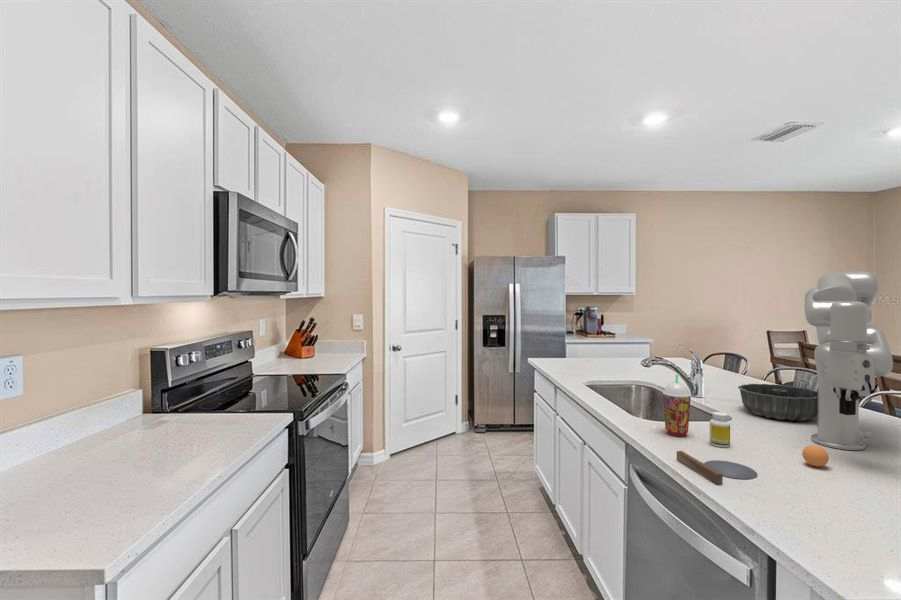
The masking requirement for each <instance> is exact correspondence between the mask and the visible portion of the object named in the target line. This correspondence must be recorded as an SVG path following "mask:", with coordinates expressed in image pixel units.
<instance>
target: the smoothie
mask: <svg viewBox="0 0 901 600" xmlns="http://www.w3.org/2000/svg"><path fill="white" fill-rule="evenodd" d="M662 398H663V399H662V400H663V413H664V414H663V415H664V425H665V426H664V429H665V431H666V433H667V434H668V435H670V436H673V437H677V436H678V437H682V438H683V437H686V436H687V433H688V432H689V425H690V424H689V423H690V412H691V411H690V410H691V398H692V394H691V393H690V391H689V388H687V387H686V386H685V385H684V384H682V383H681V382H679V374H675V382H672V383H669V384H668V385H667V386H666V387H665V389H664V390H663V391H662ZM678 437H677V438H678Z"/></svg>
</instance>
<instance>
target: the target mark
mask: <svg viewBox="0 0 901 600" xmlns="http://www.w3.org/2000/svg"><path fill="white" fill-rule="evenodd" d="M704 464H705V465H707V466H709V467H711V468H712V469H714V470H716V471H717V472H719V473H721V474H723V476H724V478H727V479H728V478H729V479H733V480H746V481H747V480H753V478H754V479H756V478H757V477H758V473H757V472H756V471H755V469H753V468H752V467H751V468H750V467H749V466H747V465H744V464H741V463H737V462H733V461H727V460H718V459H717V460H715V459H713V460H708V461H705V462H704Z"/></svg>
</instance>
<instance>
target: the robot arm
mask: <svg viewBox="0 0 901 600" xmlns="http://www.w3.org/2000/svg"><path fill="white" fill-rule="evenodd" d="M816 285H817V286H816V287H812V288H810V289H808V290H807V291H806V293H805V294H804V306H803V307H804V316H805V320H806V321H807V323H808V324H809V325H811V326H813V327H815V329H816V336H817V342H818V345H817V346H816V347H815V348H814V351H813V355H814V356H813V357H814V362H815V367H816V374H817V375H816V376H817V391H818V415H817V433H813V434H811V435H810V440H812V441H813V442H814V443H816V444H818V443H819V445H822V446H825V447H828V448H829V447H830V448H834V449H839V450H844V451H845V450H847V451H863V450H865V449H866V443H864V442H863V441H862V440H863V439H870V438H872V436H873V434H872V433H871V432H870V431H861V430H859V428H860V427H859V422H860V421H859V420H860V419H859V417H860V416H859V414H860V412H859V410H860V409H859V407H860V406H859V405H860V403H859V402H860V398H862V397H870V396H871V392H872V391H874V390H875V388H876V387H875V386H876V382H875V381H876V377H884V376H885V377H886V376H888V375H889V374H891V372H892V371H893V367H894V358H893V355H892V352H891V350H890V346H889V344H888V341H887V338H886V335H885V332H884V330H883V329H881V328H880V327H878V326H876V325H872V324H869V323H871V321H872V317H873V313H872V308H871V306H872V304H873V302H874V300H875V298H876V296H877V294H878V291H879V282H878V279H877V276H876V275H875V274H873V273H872V272H869V271H865V270H864V271H862V270H861V271H834V272H833V271H832V272H828V273H824V274H823V275H821V276H820V277H819V278H818V280H817V284H816Z"/></svg>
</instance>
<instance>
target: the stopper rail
mask: <svg viewBox="0 0 901 600" xmlns="http://www.w3.org/2000/svg"><path fill="white" fill-rule="evenodd" d="M676 461H678V462H679V463H681V464H682V465H684V466H686V467H687V468H689V469H691V470H693V471H694V472H695V473H697V474H699V475H700V476H702V477H704V478H705V479H706V480H709V482H712V483H714V484H715V485H717V486H718V485H719V486H720V485H723V474H721V473H719V472H717V471H716V470H714V469H712V468H711V467H709V466H707V465H705V464H704V463H705V462H704V463H703V462H702V461H700V460H698V459H696V458H695V457H693V456H691V455H690V454H688V453H687V452H685V451H683V450H677V451H676Z"/></svg>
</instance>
